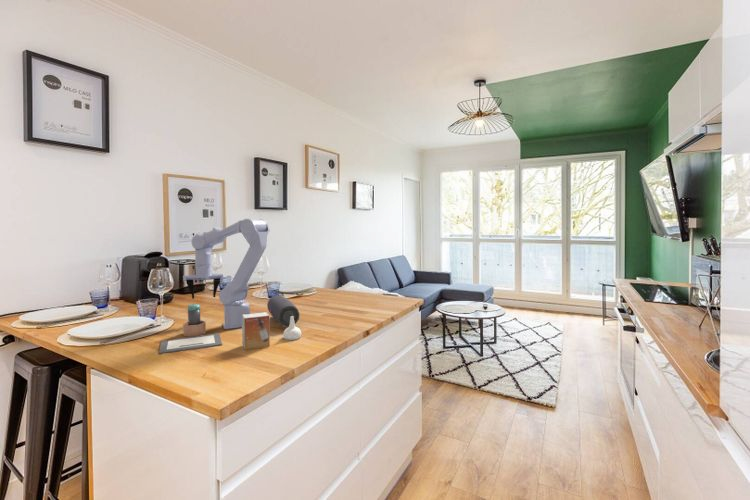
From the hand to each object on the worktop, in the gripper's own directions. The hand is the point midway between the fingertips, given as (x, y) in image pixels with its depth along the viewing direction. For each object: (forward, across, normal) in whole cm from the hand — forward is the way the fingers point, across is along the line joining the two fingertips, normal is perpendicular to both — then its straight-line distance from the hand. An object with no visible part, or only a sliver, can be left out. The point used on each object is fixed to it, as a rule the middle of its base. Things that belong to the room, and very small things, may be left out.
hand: (203, 297), depth 141 cm
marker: (+10, +3, +15) cm, 18 cm away
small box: (+10, -14, +38) cm, 42 cm away
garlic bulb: (+10, -27, +36) cm, 46 cm away
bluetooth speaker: (+10, -29, +14) cm, 34 cm away
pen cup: (+10, +3, +14) cm, 18 cm away
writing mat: (+10, +4, +26) cm, 28 cm away
